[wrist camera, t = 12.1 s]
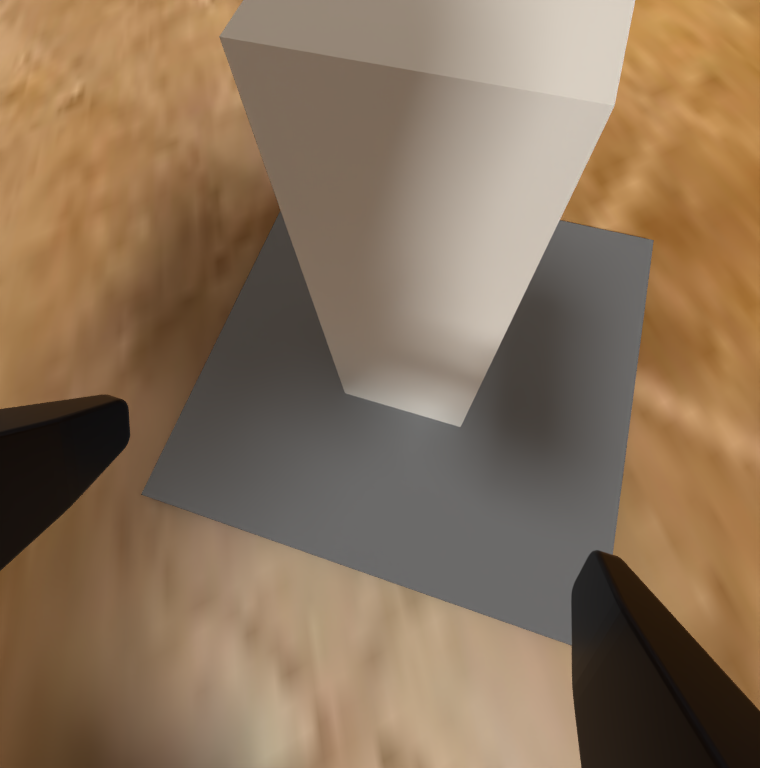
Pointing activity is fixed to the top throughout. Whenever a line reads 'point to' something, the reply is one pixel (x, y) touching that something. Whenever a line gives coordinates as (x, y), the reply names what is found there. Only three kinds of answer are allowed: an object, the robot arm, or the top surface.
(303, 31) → the off-white post
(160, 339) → the top surface
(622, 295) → the charcoal rubber mat
